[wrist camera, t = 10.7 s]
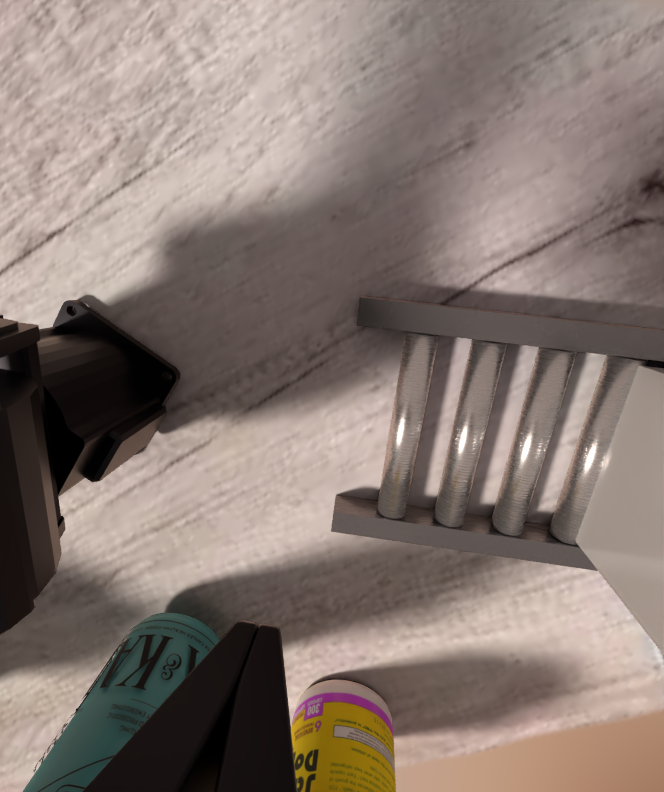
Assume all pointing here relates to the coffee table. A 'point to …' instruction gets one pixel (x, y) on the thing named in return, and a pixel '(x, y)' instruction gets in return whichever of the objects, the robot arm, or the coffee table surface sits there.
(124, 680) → the beverage bottle
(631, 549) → the off-white matte cube
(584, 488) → the roller bed
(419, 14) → the coffee table surface
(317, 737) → the supplement bottle
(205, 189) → the coffee table surface
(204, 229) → the coffee table surface
